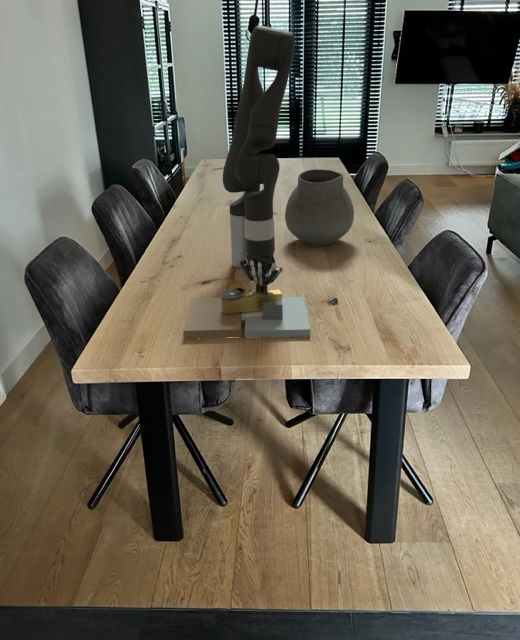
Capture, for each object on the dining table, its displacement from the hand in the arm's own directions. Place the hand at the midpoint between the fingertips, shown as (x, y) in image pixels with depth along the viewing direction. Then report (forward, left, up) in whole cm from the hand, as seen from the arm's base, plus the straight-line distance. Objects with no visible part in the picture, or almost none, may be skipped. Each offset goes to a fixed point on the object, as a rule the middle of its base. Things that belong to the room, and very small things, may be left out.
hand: (261, 296), depth 152 cm
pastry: (-14, -7, -5) cm, 16 cm away
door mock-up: (+5, -5, -4) cm, 8 cm away
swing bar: (+4, -3, -1) cm, 5 cm away
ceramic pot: (-59, +21, -5) cm, 63 cm away
